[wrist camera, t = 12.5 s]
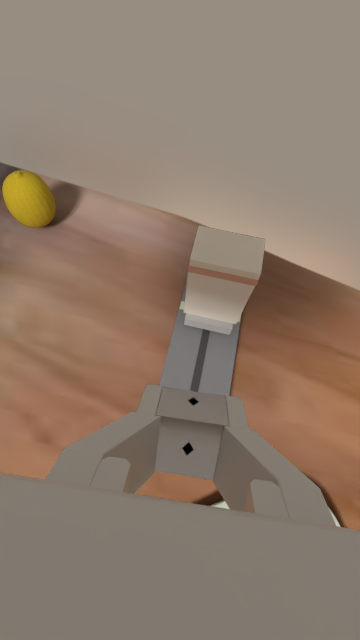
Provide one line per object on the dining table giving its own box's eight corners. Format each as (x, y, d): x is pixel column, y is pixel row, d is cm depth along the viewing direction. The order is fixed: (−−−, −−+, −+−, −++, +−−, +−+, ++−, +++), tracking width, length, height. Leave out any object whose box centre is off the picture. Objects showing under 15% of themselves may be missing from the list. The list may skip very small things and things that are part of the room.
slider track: (215, 463, 29) (222, 463, 25) (144, 446, 29) (142, 443, 25) (242, 290, 37) (250, 272, 34) (187, 279, 38) (190, 259, 34)
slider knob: (232, 335, 32) (260, 282, 23) (180, 323, 32) (187, 266, 23) (239, 296, 34) (266, 232, 25) (190, 286, 34) (199, 219, 25)
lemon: (23, 210, 41) (-7, 157, 34) (63, 208, 42) (43, 155, 35) (19, 241, 39) (-14, 191, 32) (62, 238, 40) (40, 188, 32)
